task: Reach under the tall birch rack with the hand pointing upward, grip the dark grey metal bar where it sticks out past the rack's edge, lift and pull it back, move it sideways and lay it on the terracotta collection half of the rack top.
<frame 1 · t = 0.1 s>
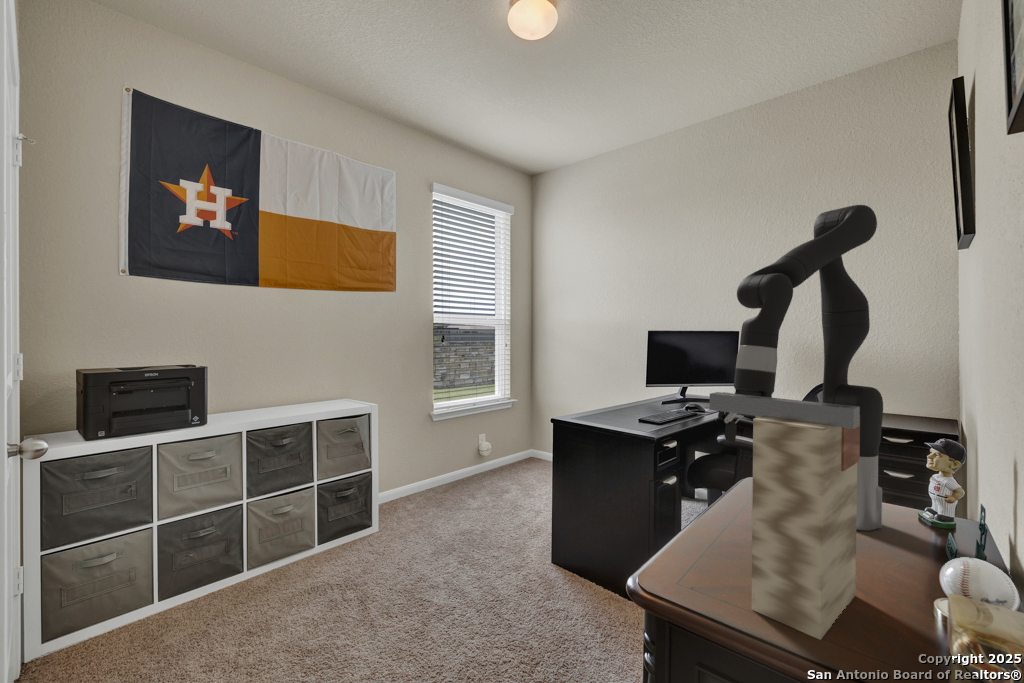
hand: (747, 446, 96), 22 cm above the table, tool pointing down, fingers open, 8 cm apart
metal bar: (777, 417, 78), point 32 cm above the table, touching parts rack
parts rack: (804, 602, 79), on the table
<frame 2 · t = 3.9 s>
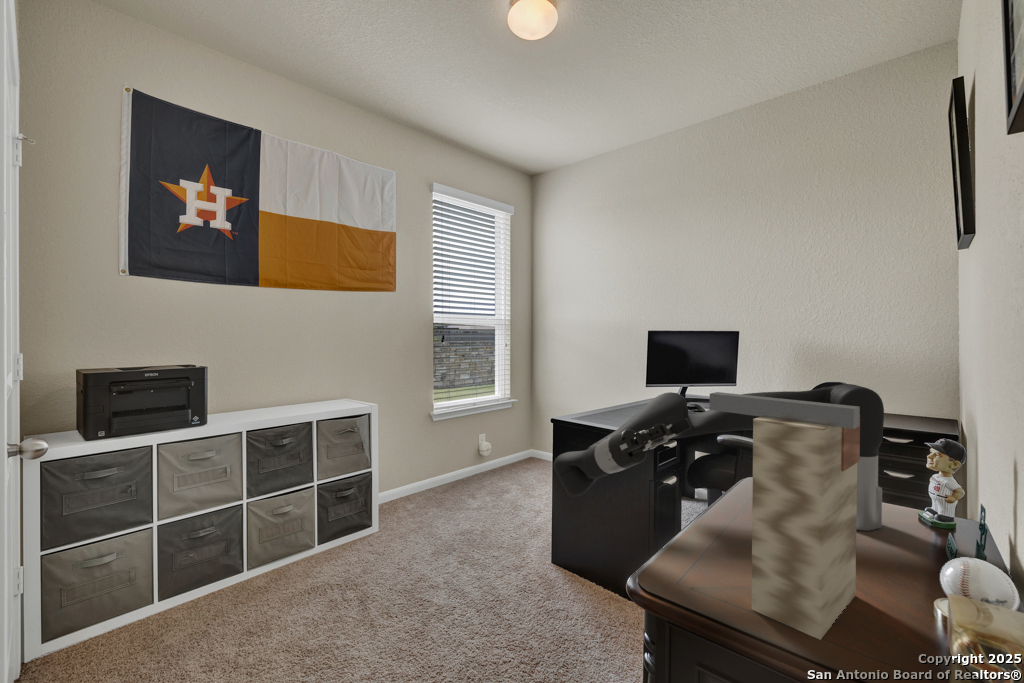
hand: (677, 425, 92), 28 cm above the table, tool pointing upward, fingers open, 8 cm apart
nothing on the table moved.
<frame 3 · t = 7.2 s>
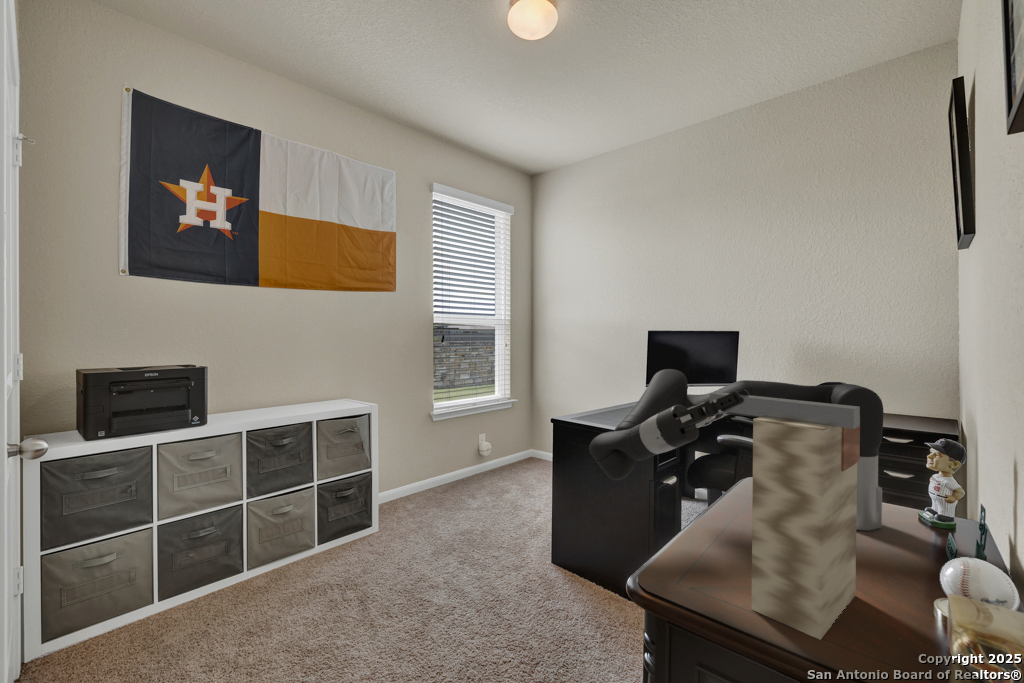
hand: (743, 395, 82), 35 cm above the table, tool pointing upward, fingers closed on metal bar, 3 cm apart
metal bar: (777, 417, 78), point 32 cm above the table, touching gripper, parts rack
everything else where it was.
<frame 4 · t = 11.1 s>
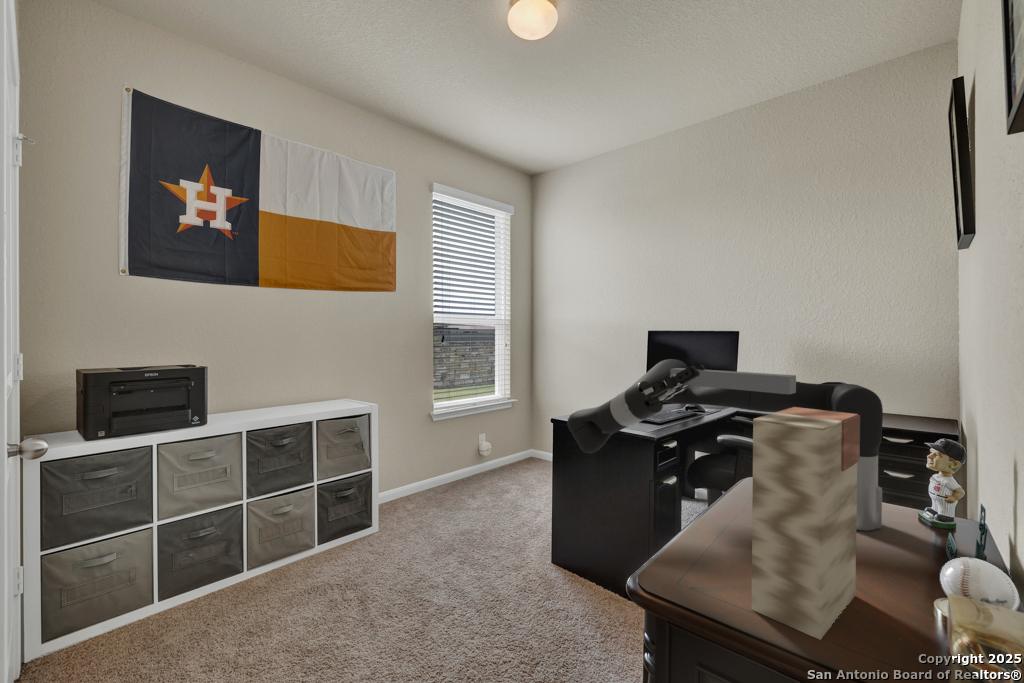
hand: (699, 369, 91), 39 cm above the table, tool pointing upward, fingers closed on metal bar, 3 cm apart
metal bar: (727, 387, 87), point 36 cm above the table, touching gripper
everything else where it was.
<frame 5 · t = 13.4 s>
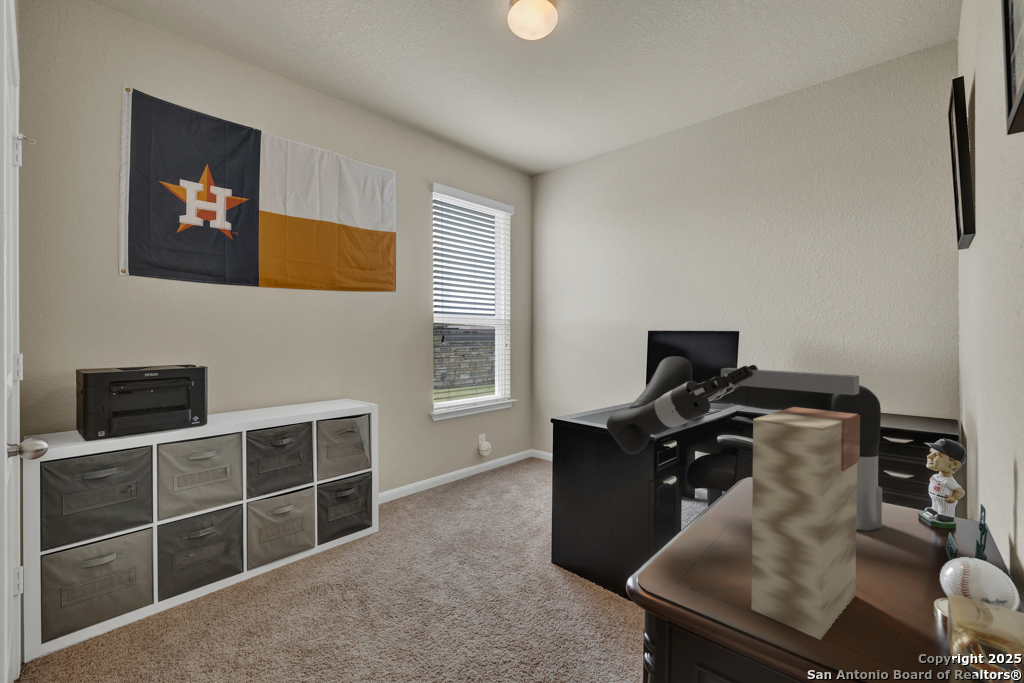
hand: (752, 369, 89), 39 cm above the table, tool pointing upward, fingers closed on metal bar, 3 cm apart
metal bar: (783, 388, 85), point 36 cm above the table, touching gripper
everything else where it was.
when the fingers open (37 cm above the table, at t = 15.0 s): metal bar drops 1 cm, resting on parts rack.
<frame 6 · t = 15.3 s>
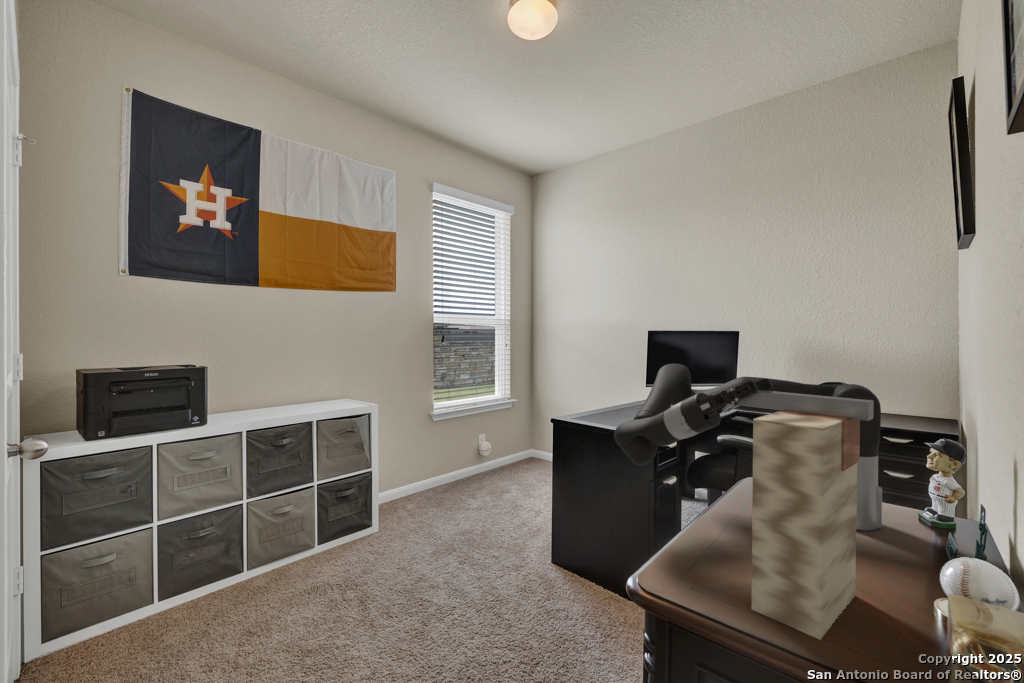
hand: (762, 383, 88), 36 cm above the table, tool pointing upward, fingers open, 6 cm apart
metal bar: (795, 410, 84), point 32 cm above the table, touching parts rack
everything else where it was.
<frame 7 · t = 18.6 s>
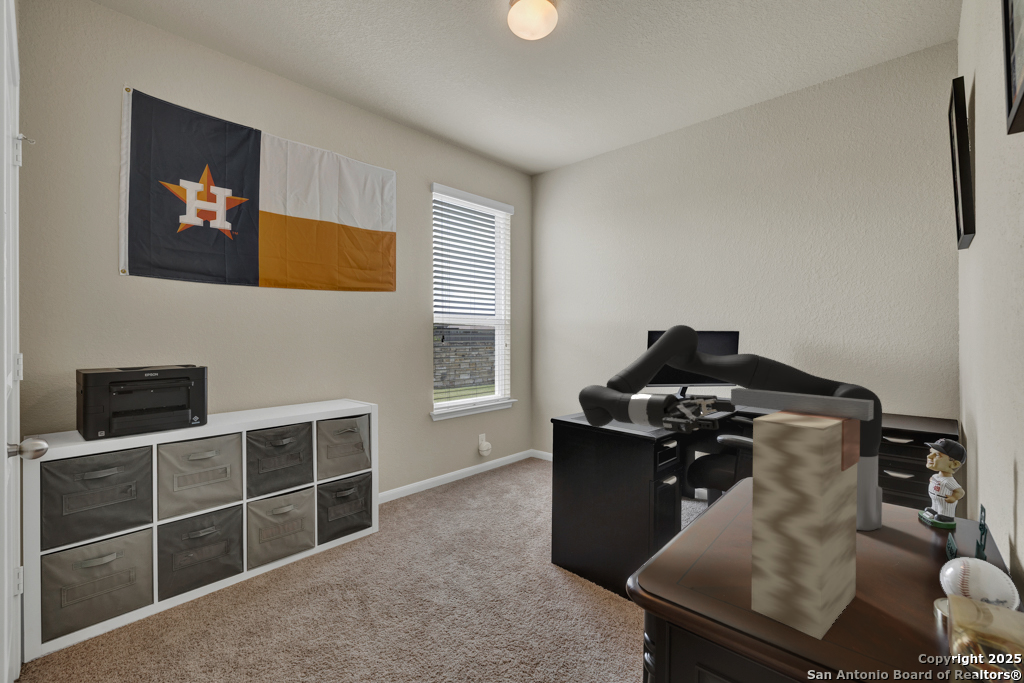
hand: (726, 415, 93), 30 cm above the table, tool horizontal, fingers open, 8 cm apart
nothing on the table moved.
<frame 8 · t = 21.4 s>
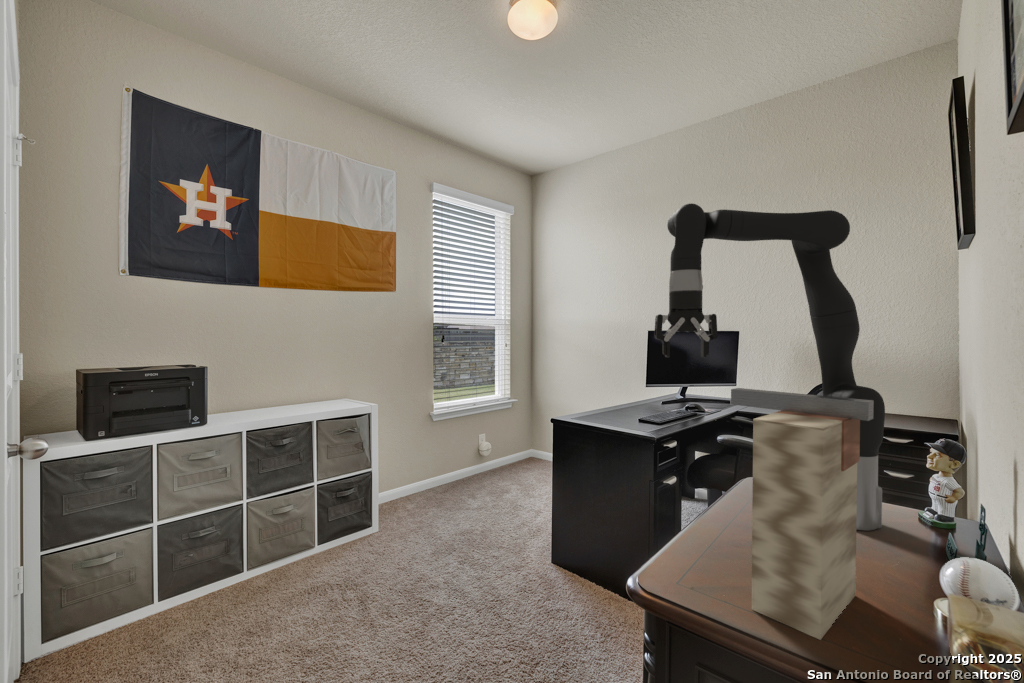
hand: (685, 357, 112), 40 cm above the table, tool pointing down, fingers open, 8 cm apart
nothing on the table moved.
at the end: metal bar inside the target area on the parts rack (0.3 cm from its centre), point 32.0 cm above the parts rack's base; metal bar tilted 0°; the gripper is holding nothing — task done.
